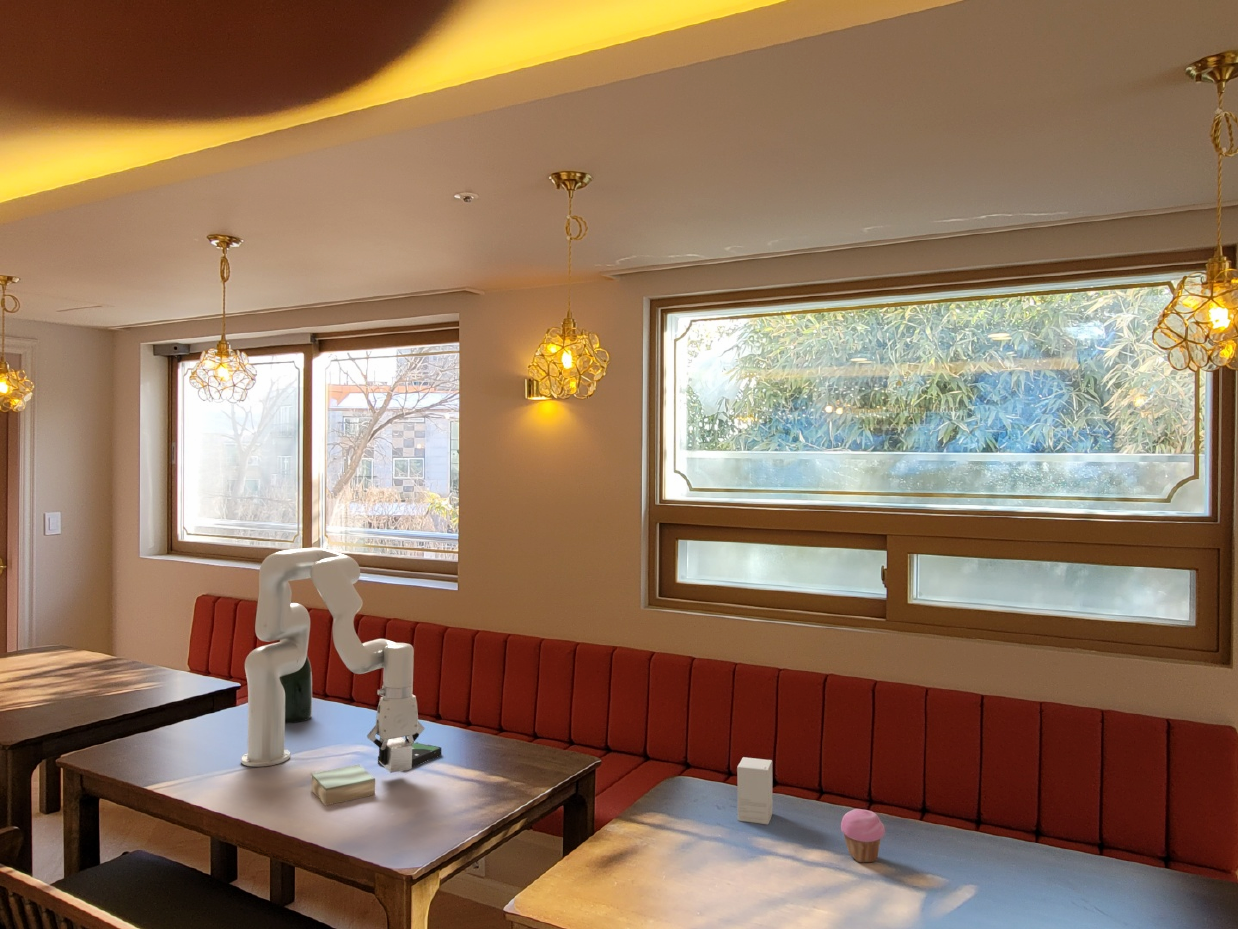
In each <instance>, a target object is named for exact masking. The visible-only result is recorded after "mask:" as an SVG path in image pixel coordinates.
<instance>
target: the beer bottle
mask: <svg viewBox="0 0 1238 929" xmlns="http://www.w3.org/2000/svg"><path fill="white" fill-rule="evenodd" d="M279 679H280V682H281V684H282V686H283V688H284V691H285V723H287V722H288V723H289V722H292V723H299V722H304V721H307V720H309V719H310V718H311V717H312V714H313V675H312V665H311V661H310V659H309V656H308V655H307V656H306V660H305V663H304V665H303V667H302V668H301V669H300V670H298V671H296V672H294V673H291V674H288V675H284V676H282V677H279ZM288 723H287V724H288Z"/></svg>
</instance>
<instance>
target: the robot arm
mask: <svg viewBox="0 0 1238 929" xmlns="http://www.w3.org/2000/svg"><path fill="white" fill-rule="evenodd" d="M258 574H259V575H258V583H259V586H258V587H259V588H258V591H259V592H258V598H257V599H258V600H257V606H256V615H255V622H254V625H255V626H254V627H255V628H254V629H255V630H254V631H255V635H256V637H257V638H258V639H259V640H260V641H261V642H268V643H269V642H273V643H270V644H265V645H262V646H259V647H257V648H255V649H254V648H253V650H252V651H250V652H249V654H248V655H247V656H246V658H245V661H244V670H245V671H244V672H245V675H246V676H245V677H246V681H247V692H248V694H247V697H248V699H247V701H248V702H247V707H248V708H247V749H246V752H247V753H245V754H243V755H242V756H241V757H240V760H241V761H240V762H241V765H243V766H246V767H251V768H252V767H255V768H258V767H259V768H260V767H261V768H262V767H269V766H275V765H278V764H281V763H284V762H286V761H288V760H289V759H290V758H291V751H289V750H288V749H285V746H286V745H285V744H286V742H285V741H286V740H285V737H286V736H285V735H286V733H285V732H286V731H285V730H286V722H285V691H284V688H283V686H282V684H281V682H280V679H279V677H282V676H284V675H288V674H291V673H294V672H296V671H298V670H300V669H301V668H302V667H303V665H304V663H305V660H306V656H308V649H309V641H310V631H311V617H310V613H309V611H308V610H307V608H306V607H305V606H304V605H303V604H301V603H297V602H292V596H293V595H292V594H293V593H292V592H293V591H292V588H291V585H290V583H289V582H290V581H291V582H292V581H298V580H306V579H311V581H312V583H313V585H314V587H315V588H316V590H317V592H318V594H319V595H320V597H321V599H322V600H323V603H324V604H325V606H326V607H327V609H328V610H329V613H330V615H331V616H332V619H333V622H332V623H333V624H332V640H333V644H334V648H335V649H336V650H335V651H337V653H338V655H339V658H340V659H341V661H342V662H343V664H344V665H345V666H346V668H347V669H348V670H349V671H350V672H352V673H353V674H357V675H363V674H366V673H369V672H372V671H375V670H379V669H382V668H383V671H382V672H383V674H382V686H381V687H382V688H380V689H377V691H376V692H377V695H378V696H381V697H379V700H378V701H379V702H378V706H377V711H376V718H375V719H376V720H375V725H374V726H373V728H371V730H370V732H369V733H368V734H367V735H366V738H367V739H368V740H370V741H371V742H372V743H373V744H374V745H376V746H377V747H378V756H379V761H380V762H381V763H382V764H383V765H386V764H387V749H386V745H387V742H388V740H389V739H393V738H399V737H402V738H404V739H405V740H406V741H407V742H408V743H410V744H411V745H413V744H414V743H415V742H416V740H417V739H418V738H419V736H420V735H421V734H422V733H423V732H424V730H425V729H426V728H425V727H424V726H423V725H422V723H421V722H420V721H419V715H418V702H417V696H416V695H414V694H413V684H414V683H413V682H414V656H415V655H414V654H415V653H414V652H415V649H414V647H413V645H412V644H410V643H405V642H395V641H392V640H389V639H386V638H376V639H373V640H369V641H365V642H363V643H362V641H361V639H360V638H359V636H358V634H357V633H356V630H355V625H354V621H355V616H356V615H357V613H358V612H360V610H361V608H362V607H363V604H364V603H363V602H364V601H363V599H362V597H361V596H360V594H359V592H358V591H357V590H356V587H355V586H354V584H356V583H357V582H358V580H359V579H360V577H361V568H360V565H359V563H358V562H357V561H356V560H355V559H354V558H353V557H352V556H349V555H347V554H343V553H339V552H335V551H332V550H329V549H325V548H321V547H306V548H294V549H286V550H281V551H277V552H274V553H272V554H269V555H268V556H267V557H265V559H264V560H263V561H262V562H261V564H260V567H259V573H258ZM275 641H276V642H275ZM277 641H278V642H277ZM376 735H378V736H379V739H378V738H376ZM383 765H382V766H383Z"/></svg>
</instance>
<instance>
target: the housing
mask: <svg viewBox="0 0 1238 929" xmlns="http://www.w3.org/2000/svg"><path fill="white" fill-rule="evenodd" d="M386 749H387V764H386V765H383V764H382V763H381V762H380V761H379V762H380V763H381V764H382V766H383V767H384V768H385V769H386V770H387V772H389V773H390V774H391V773H398V772H403V771H404V770H405V771H408V770H412V768H413V767H412V745H411V744H410V743H408V742H407V741H406V739H405V738H404V737H399V738H393V739H389V740H388V742H387V745H386ZM405 771H404V772H405Z"/></svg>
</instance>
